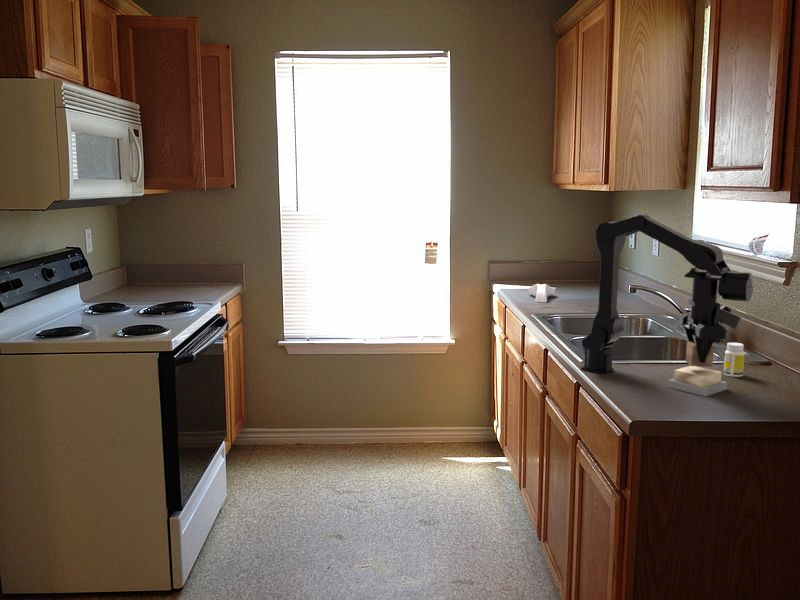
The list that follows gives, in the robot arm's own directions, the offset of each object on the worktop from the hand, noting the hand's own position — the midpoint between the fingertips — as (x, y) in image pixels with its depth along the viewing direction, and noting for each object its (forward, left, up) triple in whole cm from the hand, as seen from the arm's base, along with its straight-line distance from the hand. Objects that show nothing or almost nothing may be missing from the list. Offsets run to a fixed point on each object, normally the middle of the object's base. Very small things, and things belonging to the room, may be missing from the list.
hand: (699, 359), depth 188 cm
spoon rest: (-116, +79, -8) cm, 140 cm away
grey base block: (0, 0, -8) cm, 8 cm away
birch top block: (0, 0, -5) cm, 5 cm away
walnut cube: (0, 0, -1) cm, 1 cm away
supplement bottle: (-1, +20, -7) cm, 21 cm away
